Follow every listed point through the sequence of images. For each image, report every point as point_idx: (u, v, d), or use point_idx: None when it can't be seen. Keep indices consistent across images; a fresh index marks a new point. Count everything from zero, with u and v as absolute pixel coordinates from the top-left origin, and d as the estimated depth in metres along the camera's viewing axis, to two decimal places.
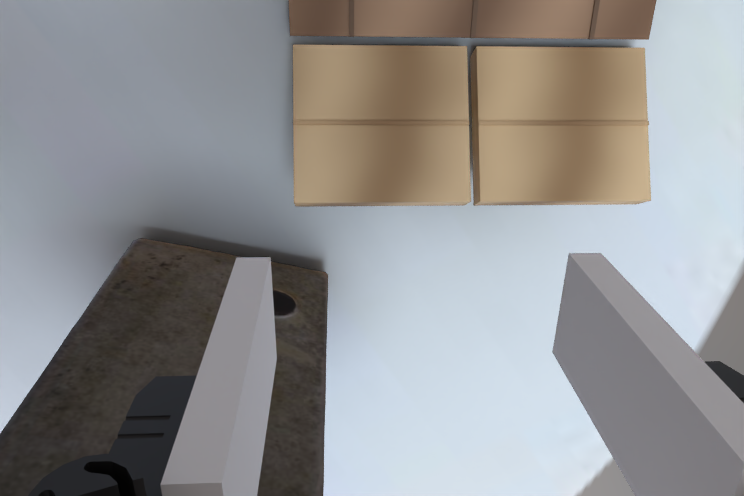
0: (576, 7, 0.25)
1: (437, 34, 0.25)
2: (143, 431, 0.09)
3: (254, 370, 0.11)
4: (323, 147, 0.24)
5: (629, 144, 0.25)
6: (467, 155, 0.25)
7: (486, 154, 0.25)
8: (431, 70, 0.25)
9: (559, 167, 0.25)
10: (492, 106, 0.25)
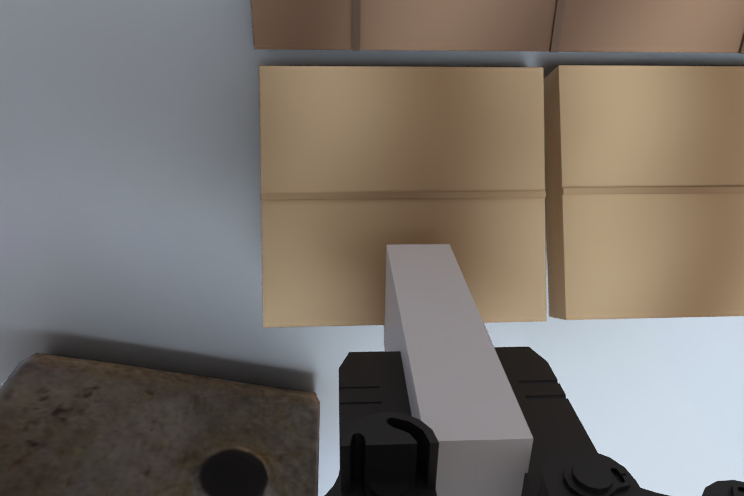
0: (724, 2, 0.15)
1: (496, 46, 0.15)
2: (362, 400, 0.10)
3: None
4: (309, 237, 0.15)
5: None
6: (541, 246, 0.15)
7: (575, 242, 0.15)
8: (485, 108, 0.15)
9: (692, 262, 0.15)
10: (585, 164, 0.15)
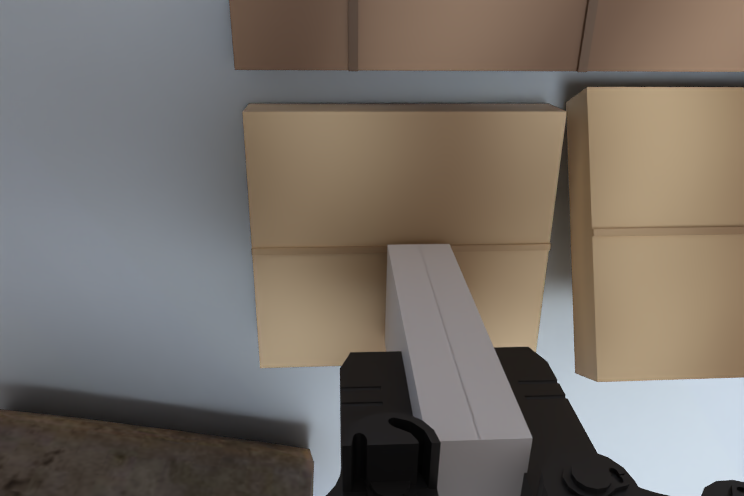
0: None
1: (515, 65, 0.13)
2: (363, 400, 0.10)
3: None
4: (304, 289, 0.15)
5: None
6: (539, 294, 0.15)
7: (607, 291, 0.13)
8: (496, 157, 0.14)
9: (741, 313, 0.13)
10: (618, 201, 0.13)
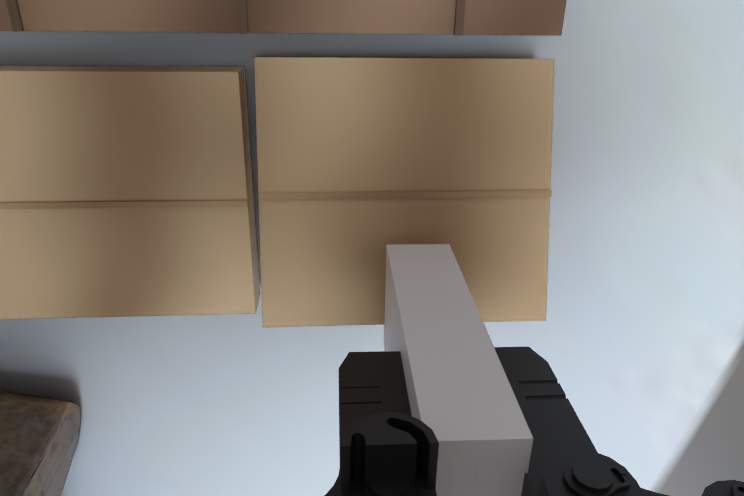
0: None
1: (178, 27, 0.14)
2: (362, 400, 0.10)
3: None
4: (14, 242, 0.16)
5: (516, 229, 0.15)
6: (248, 249, 0.16)
7: (272, 249, 0.15)
8: (178, 116, 0.15)
9: None
10: (283, 167, 0.14)
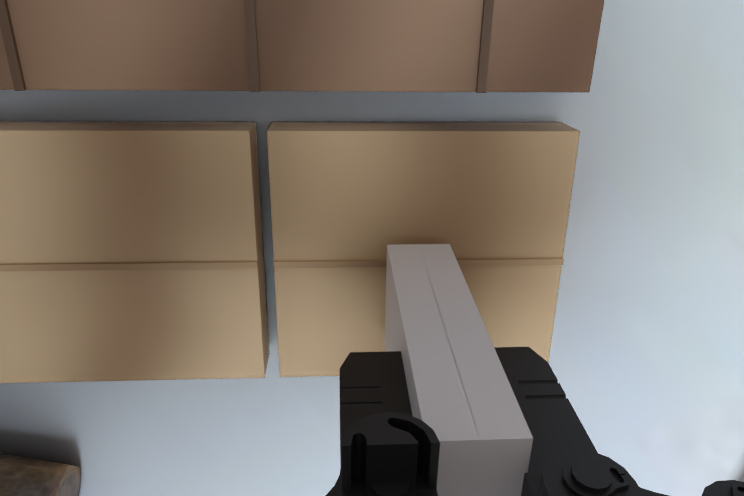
0: (448, 34, 0.13)
1: (187, 85, 0.13)
2: (363, 400, 0.10)
3: None
4: (12, 305, 0.15)
5: (526, 293, 0.15)
6: (257, 312, 0.15)
7: (288, 311, 0.15)
8: (185, 176, 0.14)
9: None
10: (298, 237, 0.15)
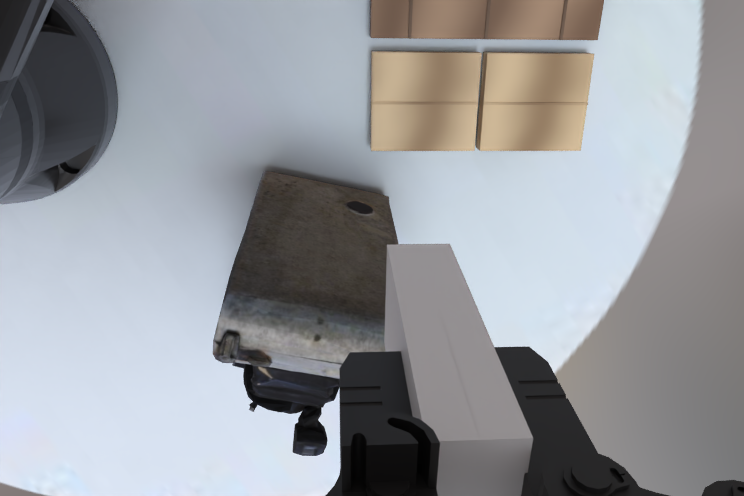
0: (551, 20, 0.39)
1: (463, 37, 0.39)
2: (362, 400, 0.10)
3: None
4: (389, 118, 0.41)
5: (573, 116, 0.42)
6: (475, 123, 0.41)
7: (486, 122, 0.41)
8: (457, 69, 0.40)
9: (529, 130, 0.42)
10: (493, 93, 0.41)
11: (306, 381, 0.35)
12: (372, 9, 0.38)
